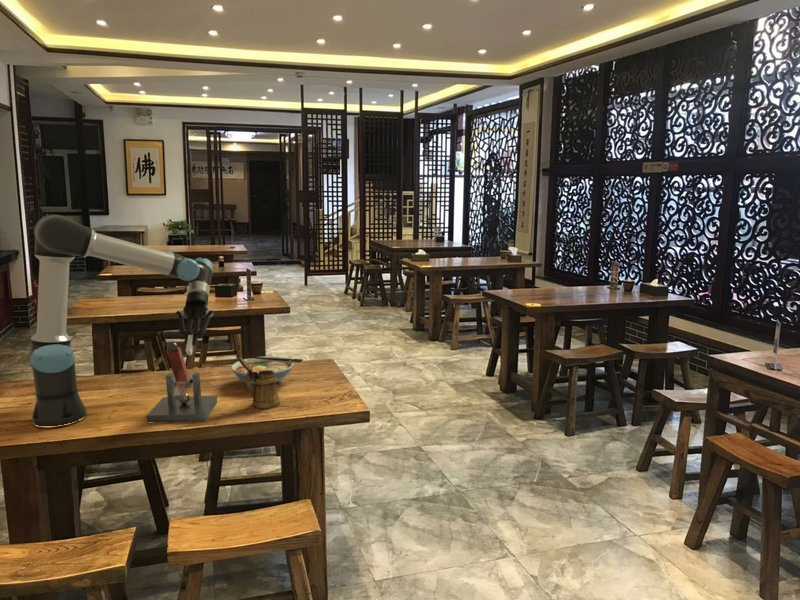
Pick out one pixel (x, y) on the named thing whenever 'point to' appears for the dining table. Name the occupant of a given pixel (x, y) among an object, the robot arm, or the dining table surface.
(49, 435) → the dining table surface
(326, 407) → the dining table surface
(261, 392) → the wooden mug
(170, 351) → the lever
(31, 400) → the dining table surface
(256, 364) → the ramen bowl
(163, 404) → the stand
